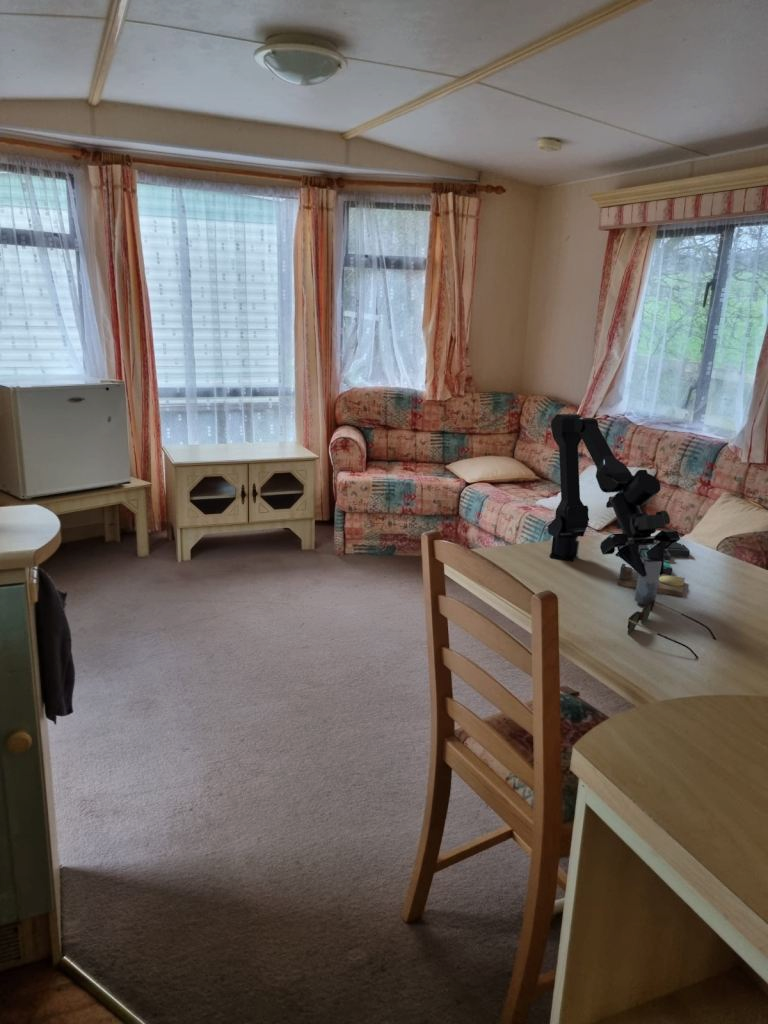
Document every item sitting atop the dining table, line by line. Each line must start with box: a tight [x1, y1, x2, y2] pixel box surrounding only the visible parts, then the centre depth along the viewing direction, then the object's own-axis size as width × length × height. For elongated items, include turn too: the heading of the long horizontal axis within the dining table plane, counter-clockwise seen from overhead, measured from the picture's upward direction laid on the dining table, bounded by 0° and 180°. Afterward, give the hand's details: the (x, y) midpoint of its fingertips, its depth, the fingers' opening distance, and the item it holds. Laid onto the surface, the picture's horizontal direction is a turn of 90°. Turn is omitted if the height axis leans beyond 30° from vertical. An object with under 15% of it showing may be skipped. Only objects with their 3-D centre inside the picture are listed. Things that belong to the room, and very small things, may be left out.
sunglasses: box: [626, 600, 717, 659], centre depth 149 cm, size 14×15×5 cm
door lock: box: [617, 563, 685, 597], centre depth 179 cm, size 15×11×4 cm
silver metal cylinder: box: [633, 557, 662, 605], centre depth 165 cm, size 5×5×10 cm
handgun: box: [638, 541, 691, 576], centre depth 197 cm, size 4×26×15 cm
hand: (653, 575), depth 163 cm, fingers closed on silver metal cylinder, 5 cm apart
